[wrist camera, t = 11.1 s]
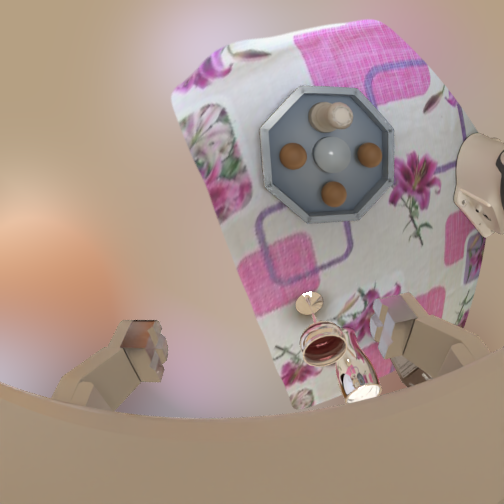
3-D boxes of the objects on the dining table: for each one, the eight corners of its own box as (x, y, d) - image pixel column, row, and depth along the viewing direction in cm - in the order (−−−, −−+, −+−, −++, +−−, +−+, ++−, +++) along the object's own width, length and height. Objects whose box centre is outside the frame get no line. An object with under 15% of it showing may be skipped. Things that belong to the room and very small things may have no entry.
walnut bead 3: (379, 154, 36) (391, 157, 33) (364, 170, 37) (375, 175, 34) (364, 136, 35) (375, 138, 32) (348, 153, 36) (358, 156, 33)
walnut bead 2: (346, 190, 38) (355, 196, 35) (330, 208, 39) (337, 215, 36) (329, 174, 37) (338, 178, 34) (313, 192, 38) (319, 198, 35)
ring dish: (405, 154, 37) (415, 157, 34) (327, 239, 43) (333, 247, 40) (320, 64, 31) (326, 59, 28) (232, 158, 37) (232, 161, 34)
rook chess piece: (321, 139, 35) (341, 142, 28) (300, 115, 34) (315, 111, 26) (344, 120, 34) (368, 119, 27) (324, 96, 32) (343, 89, 25)
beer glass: (346, 319, 50) (373, 378, 36) (363, 336, 52) (388, 391, 38) (318, 340, 52) (336, 400, 38) (336, 355, 54) (355, 411, 40)
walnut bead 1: (309, 154, 36) (315, 156, 33) (291, 172, 37) (296, 177, 34) (289, 136, 35) (294, 137, 32) (272, 156, 36) (275, 158, 33)
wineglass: (312, 323, 50) (327, 371, 39) (283, 310, 48) (292, 359, 37) (335, 296, 47) (356, 342, 36) (305, 281, 46) (322, 328, 35)
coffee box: (410, 323, 52) (444, 375, 37) (388, 342, 54) (417, 396, 39) (393, 303, 49) (431, 359, 34) (369, 324, 51) (400, 383, 36)
